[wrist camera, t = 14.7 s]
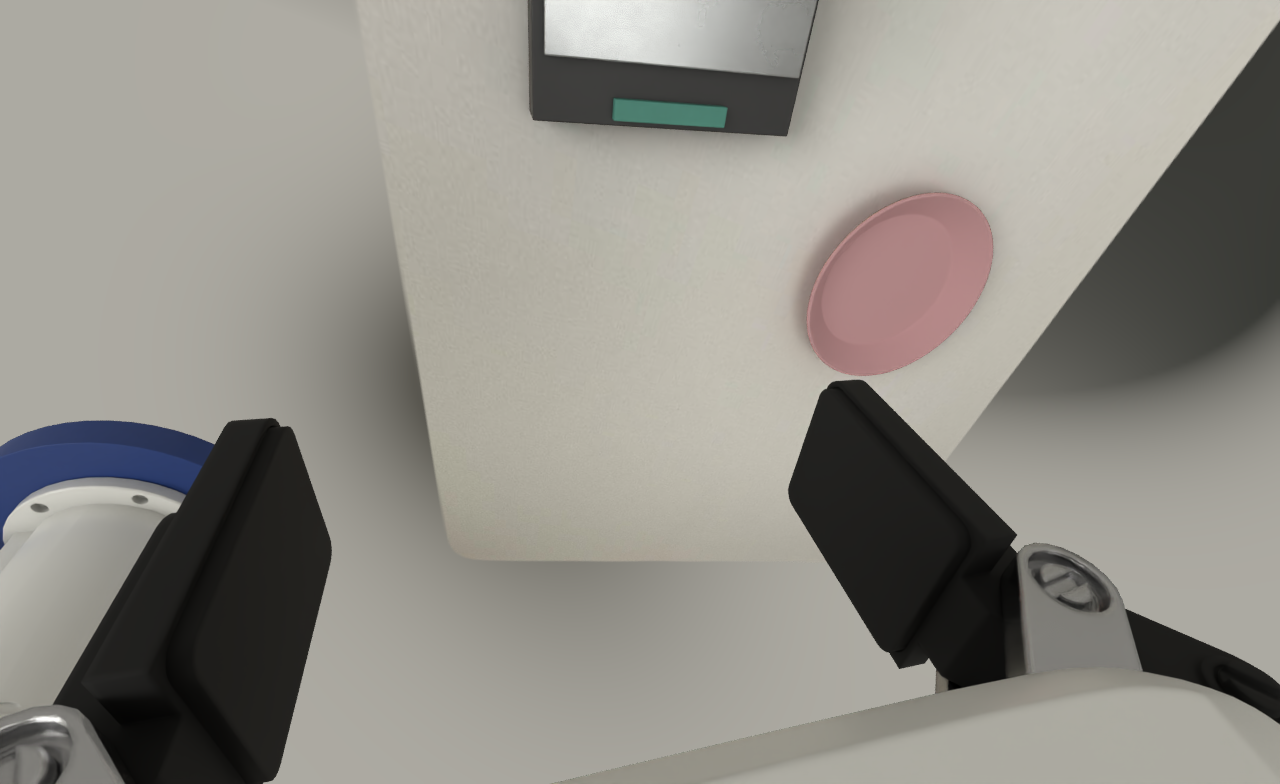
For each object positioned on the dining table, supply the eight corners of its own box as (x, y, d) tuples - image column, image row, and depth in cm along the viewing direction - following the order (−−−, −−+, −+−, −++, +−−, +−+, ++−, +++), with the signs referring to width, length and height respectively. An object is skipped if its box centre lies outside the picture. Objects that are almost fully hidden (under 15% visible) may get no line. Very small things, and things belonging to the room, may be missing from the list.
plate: (758, 300, 40) (769, 313, 38) (922, 137, 35) (942, 144, 34) (857, 390, 48) (869, 404, 46) (1002, 265, 43) (1021, 276, 41)
